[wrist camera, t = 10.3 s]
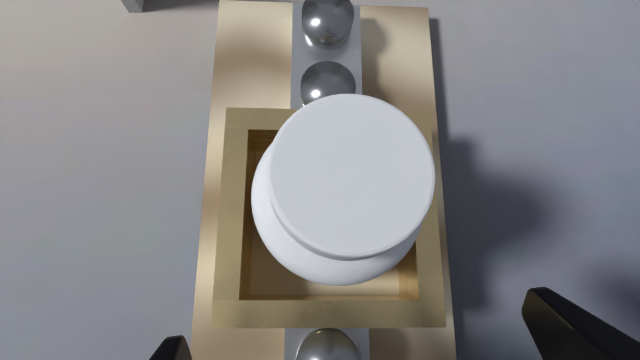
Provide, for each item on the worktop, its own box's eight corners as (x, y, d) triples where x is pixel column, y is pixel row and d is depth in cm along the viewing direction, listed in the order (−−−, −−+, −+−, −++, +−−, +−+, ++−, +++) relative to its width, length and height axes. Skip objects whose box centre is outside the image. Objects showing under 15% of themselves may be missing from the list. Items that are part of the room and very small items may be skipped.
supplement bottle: (329, 150, 19) (359, 26, 9) (401, 229, 18) (514, 182, 8) (246, 218, 18) (184, 155, 8) (319, 306, 17) (343, 348, 7)
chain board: (459, 507, 16) (470, 522, 15) (183, 515, 15) (175, 531, 14) (422, 19, 22) (427, 7, 21) (223, 12, 22) (219, 0, 21)
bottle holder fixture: (432, 495, 15) (463, 548, 12) (215, 500, 15) (194, 557, 12) (403, 21, 21) (419, -19, 18) (245, 16, 20) (235, -27, 17)
